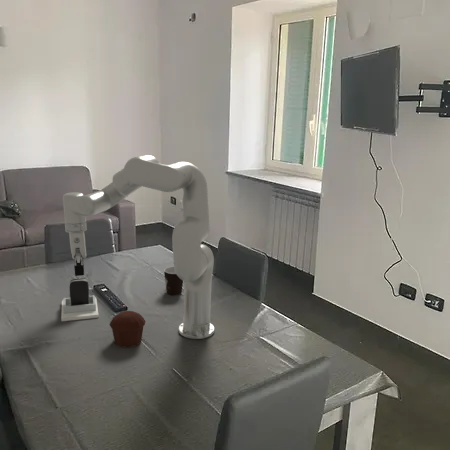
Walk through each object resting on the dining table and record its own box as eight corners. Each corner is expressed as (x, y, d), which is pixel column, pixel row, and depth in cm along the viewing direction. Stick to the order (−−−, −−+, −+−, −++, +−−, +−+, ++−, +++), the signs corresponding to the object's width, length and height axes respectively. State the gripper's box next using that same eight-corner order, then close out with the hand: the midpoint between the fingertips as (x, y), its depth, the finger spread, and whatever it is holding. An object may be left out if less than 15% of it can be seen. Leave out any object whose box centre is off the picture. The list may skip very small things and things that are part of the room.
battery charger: (89, 304, 178) (87, 276, 175) (89, 308, 175) (88, 280, 172) (70, 306, 176) (68, 278, 173) (70, 310, 172) (68, 281, 169)
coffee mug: (183, 296, 191) (183, 274, 188) (162, 295, 191) (162, 273, 188) (186, 286, 202) (186, 264, 200) (166, 285, 202) (166, 263, 200)
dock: (98, 317, 170) (98, 308, 169) (61, 321, 166) (60, 312, 165) (95, 290, 194) (94, 282, 193) (62, 293, 190) (62, 284, 189)
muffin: (110, 351, 148) (109, 322, 145) (109, 334, 158) (108, 308, 155) (147, 347, 151) (147, 319, 148) (144, 331, 161) (144, 305, 159)
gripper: (87, 231, 160) (90, 277, 164) (85, 220, 176) (89, 262, 180) (64, 233, 158) (68, 280, 162) (65, 221, 174) (68, 264, 178)
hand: (79, 270), depth 171 cm, fingers open, 9 cm apart
